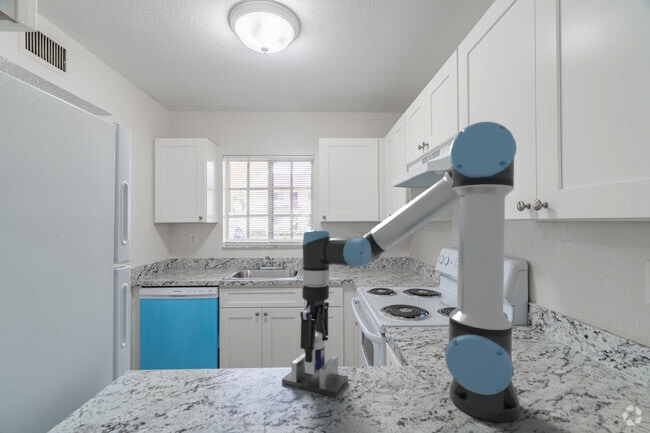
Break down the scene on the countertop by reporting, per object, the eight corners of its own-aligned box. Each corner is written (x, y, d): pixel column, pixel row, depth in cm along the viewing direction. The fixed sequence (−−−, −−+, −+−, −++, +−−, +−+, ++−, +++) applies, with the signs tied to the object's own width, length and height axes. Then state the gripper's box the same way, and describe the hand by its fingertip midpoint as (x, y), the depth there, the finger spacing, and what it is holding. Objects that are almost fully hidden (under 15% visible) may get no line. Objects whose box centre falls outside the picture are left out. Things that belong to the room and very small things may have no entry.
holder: (347, 381, 82) (347, 358, 82) (335, 398, 74) (335, 372, 74) (298, 370, 88) (298, 348, 89) (282, 384, 80) (282, 360, 81)
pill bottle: (302, 371, 80) (302, 335, 80) (309, 363, 85) (310, 329, 85) (320, 375, 78) (320, 338, 78) (327, 366, 83) (327, 332, 83)
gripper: (318, 278, 92) (317, 353, 91) (287, 289, 76) (285, 380, 74) (339, 280, 89) (339, 357, 88) (312, 291, 73) (311, 387, 71)
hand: (315, 368), depth 81 cm, fingers closed on pill bottle, 5 cm apart
